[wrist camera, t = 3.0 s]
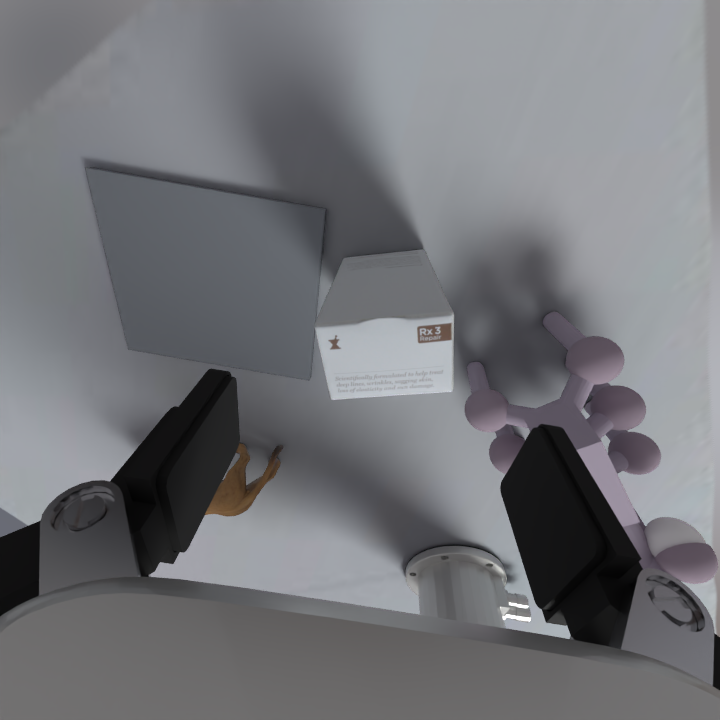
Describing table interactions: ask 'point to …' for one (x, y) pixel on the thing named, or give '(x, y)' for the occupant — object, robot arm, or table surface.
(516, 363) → the table surface
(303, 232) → the mat
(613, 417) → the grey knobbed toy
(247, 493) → the lion figurine
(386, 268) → the skincare box
